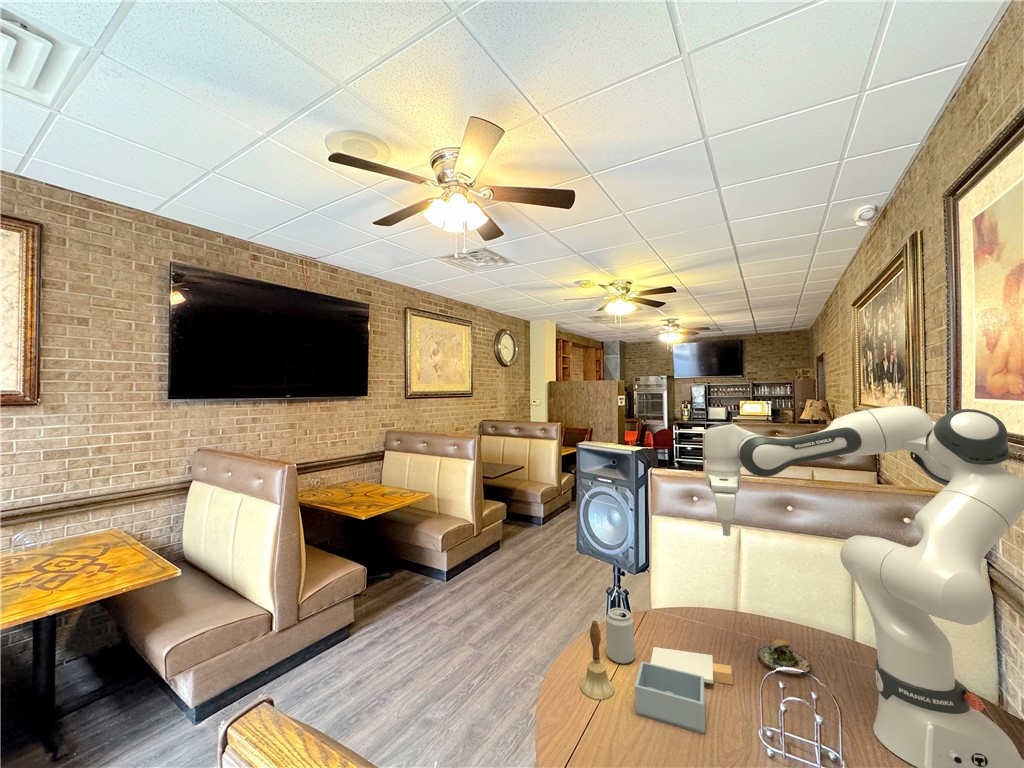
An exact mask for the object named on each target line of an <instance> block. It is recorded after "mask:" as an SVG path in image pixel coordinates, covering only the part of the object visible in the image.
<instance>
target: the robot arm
mask: <svg viewBox="0 0 1024 768" xmlns="http://www.w3.org/2000/svg"><path fill="white" fill-rule="evenodd" d="M1008 436H1009V435H1008V430H1007V428H1006V426H1005V424H1004V422H1002V420H1001V419H999V418H998V417H996V416H995V415H993V414H991V413H989V412H986V411H982V410H980V409H971V408H962V409H955V410H952V411H950V412H948V413H946V414H945V415H943V416H941V418H939V419H938V420H937V421H936V422H935V420H932V418H931V416H930V415H929V414H928V413H927V412H926V411H925V410H924V409H921V408H920V407H917V406H915V405H914V406H913V405H897V406H895V405H894V406H885V407H884V406H883V407H878V408H876V407H875V408H871V409H865V410H859V411H855V412H851V413H849V414H845V415H842V416H839V417H837V418H834V419H833V420H832V421H831V422H830V424H829V425H828V426H827V427H825V428H824V429H822V430H820V431H817V432H813V433H807V434H804V435H797V436H794V437H788V438H776V437H769V436H765V435H762V434H758V433H754V432H753V431H749V430H747V429H744V428H743V427H741V426H738V425H737V424H735V423H734V422H722V423H717V424H712V425H710V426H709V427H707V428H706V430H705V432H704V438H703V439H704V441H703V446H704V448H703V449H704V456H705V461H706V463H705V466H704V467H705V468H704V469H705V485H706V487H708V488H709V489H710V492H711V493H713V496H714V501H715V503H714V504H715V508H716V514H717V519H718V521H719V522H720V523H721V527H722V535H723V536H725V537H730V536H731V535H732V534H731V526H732V524H731V523H734V522H735V518H736V506H737V505H736V503H737V494H738V493H739V490H740V489H742V478H741V477H742V475H741V468H745V470H746V471H748V472H749V473H751V474H753V475H755V476H757V477H762V478H763V477H764V478H767V477H772V476H776V475H778V474H780V473H781V472H783V471H784V470H785V469H787V468H789V467H790V466H794V465H797V464H800V463H806V462H811V461H817V460H821V459H826V458H831V457H832V458H833V457H862V456H863V457H864V456H871V455H873V456H874V455H880V454H885V453H891V452H897V451H908V452H910V454H909V455H910V459H911V460H912V461H913V462H914V463H915V464H916V465H918V466H919V467H920V468H921V470H922V471H923V473H924V474H925V475H926V476H928V477H929V478H930V479H932V480H933V481H934V482H936V483H938V484H941V485H943V486H944V487H943V488H942V489H941V490H940V491H939V492H938V493H937V494H936V495H935V496H933V498H932V499H930V500H929V501H928V502H927V503H926V505H924V506H923V507H922V508H921V509H920V510H919V511H918V512H917V513H916V514H915V516H914V524H915V528H916V531H917V532H918V533H919V535H920V536H921V539H920V541H919V542H918V543H917V544H916V545H914V546H907V545H904V544H902V543H898V542H895V541H892V540H890V539H886V538H882V537H878V536H870V535H861V534H860V535H859V534H857V535H853V536H851V537H849V538H847V539H846V540H845V541H844V542H843V544H842V546H841V548H840V552H839V553H840V554H839V555H840V562H841V564H842V566H843V567H844V569H845V570H846V572H847V573H849V575H850V576H851V577H852V579H853V580H854V581H855V583H856V585H857V587H858V589H859V591H860V592H861V594H862V597H863V599H864V601H865V603H866V606H867V609H868V610H869V613H870V616H871V619H872V622H873V628H874V633H875V645H876V653H877V659H876V660H875V672H874V673H875V683H876V688H877V690H878V701H877V702H878V704H877V710H876V716H875V719H874V722H873V725H872V729H873V733H874V735H875V737H876V738H877V739H878V740H879V742H880V743H881V744H882V745H883V746H884V747H886V749H888V750H889V752H891V753H893V754H894V755H896V756H897V757H899V758H900V759H902V760H904V761H905V762H907V763H908V764H911V765H912V766H914V767H916V768H1024V759H1023V758H1022V757H1021V754H1020V753H1019V751H1018V749H1017V747H1016V745H1015V744H1014V743H1013V741H1012V739H1011V738H1010V737H1009V736H1008V735H1007V733H1005V732H1004V730H1002V728H1000V727H1001V726H998V725H997V724H996V723H995V722H994V721H992V720H991V719H990V718H989V717H987V716H986V715H985V714H983V713H982V712H981V711H983V710H984V709H985V705H984V703H983V701H982V700H981V699H980V698H979V697H978V696H977V695H975V694H974V693H970V690H969V689H968V688H967V687H966V686H965V685H964V684H962V683H961V682H959V681H958V679H956V677H955V670H954V657H953V648H952V644H951V642H950V639H948V637H947V636H946V633H944V632H943V631H942V629H941V628H940V627H939V626H938V625H937V624H936V623H935V622H934V620H933V619H932V618H931V616H933V617H935V618H939V619H941V620H945V621H950V622H953V623H957V624H960V625H966V626H973V625H976V624H979V623H982V622H984V621H985V620H986V619H987V618H988V617H989V616H990V614H992V611H993V607H994V597H993V592H992V590H991V588H990V586H989V584H988V582H987V581H986V580H985V578H983V576H982V569H981V568H982V563H983V561H984V558H985V557H986V555H987V554H988V553H989V552H990V550H992V548H994V546H995V545H996V544H997V543H998V541H1000V540H1001V539H1002V537H1003V536H1005V534H1006V533H1007V532H1009V530H1011V529H1012V527H1014V525H1015V524H1016V523H1017V521H1018V520H1019V519H1020V517H1021V516H1022V515H1023V513H1024V480H1023V479H1022V478H1020V476H1017V475H1016V474H1014V473H1012V472H1010V471H1008V470H1007V469H1005V468H1004V466H1003V462H1006V461H1007V460H1009V458H1010V452H1009V437H1008Z"/></svg>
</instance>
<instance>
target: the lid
mask: <svg viewBox="0 0 1024 768" xmlns="http://www.w3.org/2000/svg"><path fill="white" fill-rule="evenodd" d="M651 654H652V655H651V658H650V662H649V663H650V664H655V665H659V666H663V667H667V668H671V669H676V670H680V671H684V672H688V673H692V674H697V675H701V676H704V683H707V684H714V682H715V683H719V684H727V685H732V686H733V685H734V682H733V681H734V680H733V673H732V672H733V670H732V665H729V664H722V663H714V657H713V655H712V654H705V653H699V652H692V651H686V650H677V649H670V648H664V647H663V648H662V647H655V646H654V647H653V650H652V653H651Z"/></svg>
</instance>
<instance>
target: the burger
mask: <svg viewBox="0 0 1024 768" xmlns="http://www.w3.org/2000/svg"><path fill="white" fill-rule="evenodd" d="M776 633H778V632H777V630H776ZM776 636H777V639H774V640H773V641H772V642H771V644H770V645H769V646H762V647H761V648H759V649H758V651H757V661H758V663H759V664H760V665H761V666H762V667H763V668H764V669H767V667H770V668H772V669H773V670H776V668H778V667H783V666H785V667H794V668H797V669H801V670H803V671H805V672H804V673H808V672H809V671H811V670H813V667H812V664H810V662H809V660H807V659H806V658H805V656H802V655H801V654H799V653H798V652H796V651H793V650H791V649H790V647H791V645H790V644H789V642H788V641H786V640H784V639H781V638H779V635H778V634H776ZM780 672H781V673H786V674H790V675H800V674H801V673H795V672H791V671H780Z"/></svg>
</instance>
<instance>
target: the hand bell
mask: <svg viewBox="0 0 1024 768" xmlns="http://www.w3.org/2000/svg"><path fill="white" fill-rule="evenodd" d="M589 639H590V644H591V645H592V660H590V661H589V662H588V663H587V668H586V675H585V677H583V678H582V680H581V681H580V684H579V687H580V690H581V691H580V692H581V693H582V694H583V695H584V696H586V697H588V698H589V699H592V700H596V701H605V700H608V699H611V698H612V697H613V695H614V694H615V686H614V685H613V683H612V681H611V680H610V679H609V678H608V672H607V667H606V664H605V663H603V662H602V661H601V658H600V645H601V640H602V639H601V630H600V626H599V623H598V621H597V620H592V621H591V626H590V630H589Z"/></svg>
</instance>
